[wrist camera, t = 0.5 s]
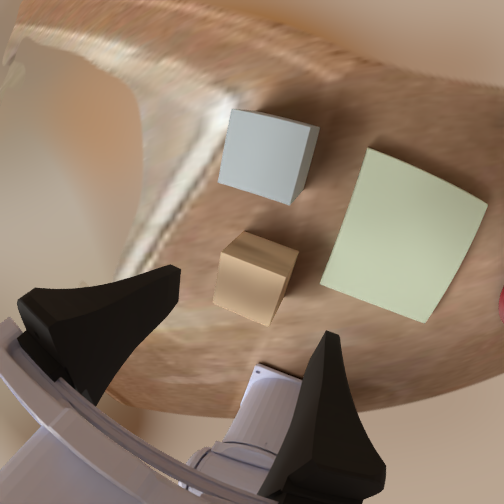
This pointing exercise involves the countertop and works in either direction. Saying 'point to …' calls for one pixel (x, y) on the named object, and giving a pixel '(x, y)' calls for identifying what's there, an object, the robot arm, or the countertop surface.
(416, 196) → the baseplate
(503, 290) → the liquor
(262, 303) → the oak brick
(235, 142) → the slate brick
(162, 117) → the countertop surface
